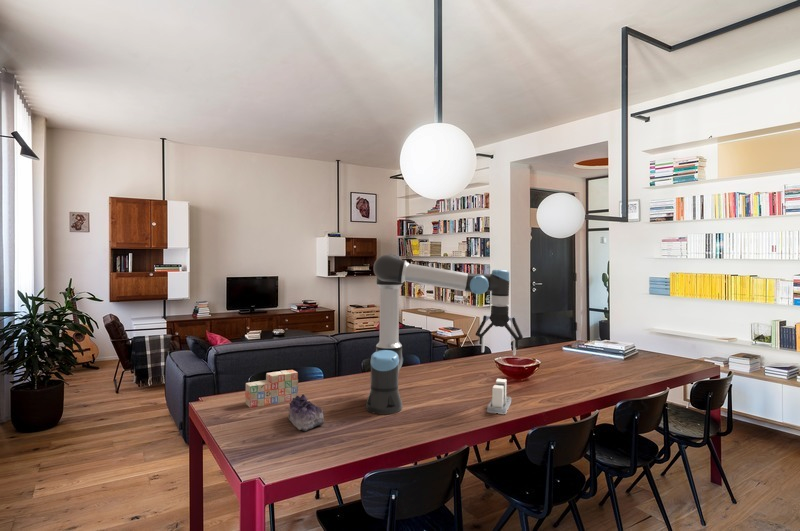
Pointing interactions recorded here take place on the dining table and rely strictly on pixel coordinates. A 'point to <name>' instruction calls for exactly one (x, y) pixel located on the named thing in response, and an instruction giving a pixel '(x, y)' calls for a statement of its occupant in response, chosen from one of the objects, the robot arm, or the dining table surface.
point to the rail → (498, 409)
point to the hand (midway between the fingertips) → (498, 353)
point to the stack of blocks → (272, 389)
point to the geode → (305, 414)
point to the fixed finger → (498, 396)
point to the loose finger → (502, 383)
